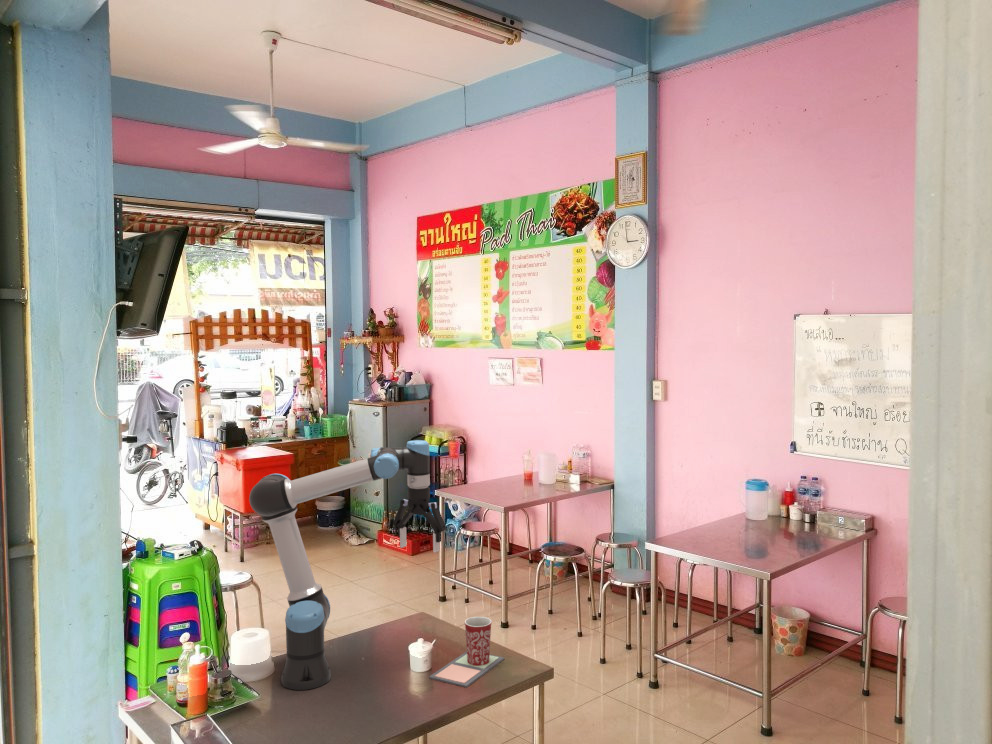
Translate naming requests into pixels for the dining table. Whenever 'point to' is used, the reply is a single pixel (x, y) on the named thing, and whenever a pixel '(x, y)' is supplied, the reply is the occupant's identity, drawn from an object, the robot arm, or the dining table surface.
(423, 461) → the robot arm
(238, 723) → the dining table surface
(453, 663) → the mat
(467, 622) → the mug
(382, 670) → the dining table surface
